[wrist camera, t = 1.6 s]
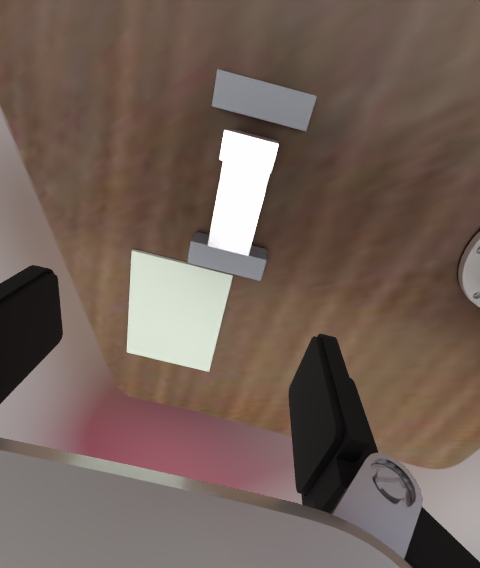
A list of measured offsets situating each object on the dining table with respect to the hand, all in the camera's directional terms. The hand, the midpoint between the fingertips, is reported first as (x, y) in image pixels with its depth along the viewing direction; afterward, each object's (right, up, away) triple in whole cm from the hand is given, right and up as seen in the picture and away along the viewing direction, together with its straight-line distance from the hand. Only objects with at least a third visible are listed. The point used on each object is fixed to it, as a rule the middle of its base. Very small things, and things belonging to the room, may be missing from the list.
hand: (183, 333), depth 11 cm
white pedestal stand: (+2, +12, +19) cm, 22 cm away
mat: (-6, -2, +27) cm, 28 cm away
